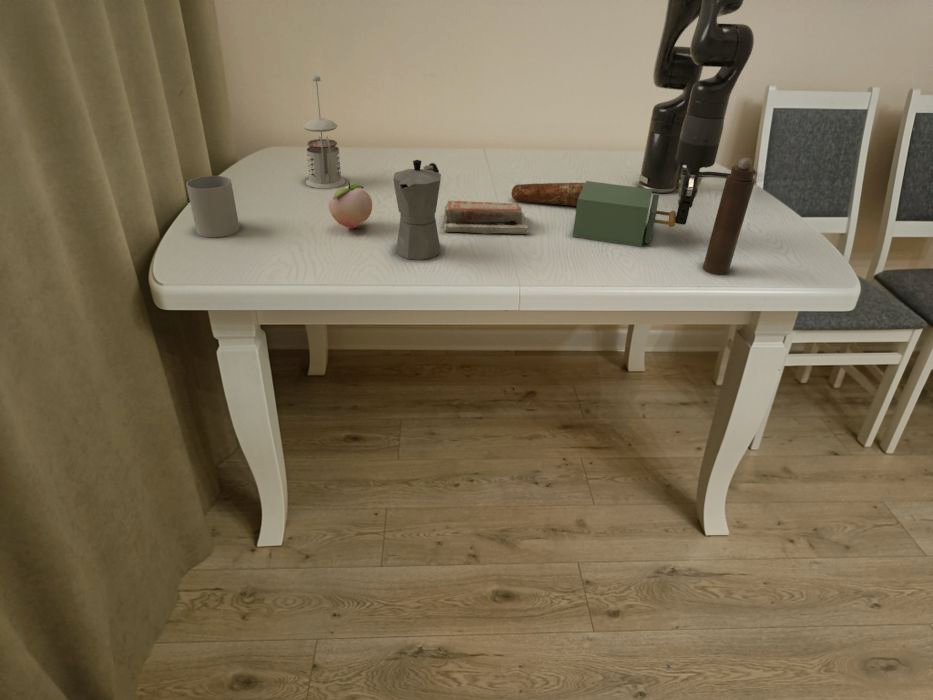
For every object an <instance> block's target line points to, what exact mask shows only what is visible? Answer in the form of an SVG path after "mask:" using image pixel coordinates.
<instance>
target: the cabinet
mask: <svg viewBox="0 0 933 700" xmlns="http://www.w3.org/2000/svg"><path fill="white" fill-rule="evenodd" d="M584 183H585V185H584V187H583V189H582V191H581V193H580V195H579V197H578V201H577V206H576V208H575V215H574V224H573V231H572V237H573V238H580V239H587V240H593V241H600V242H607V243H613V244H621V245H626V246H634V247H640V248H641V247H642V245H643V242H644V241H643V240H644V237H645V232H646V227H647V222H648V217H649V212H650V207H651V201H652V196H653V195H652V193H653V192H652V189H647V188H640V187H639V186H638V187H637V186H630V185H623V184H614V183H606V182H600V181H599V182H598V181H589V180H586V181H585V182H584Z"/></svg>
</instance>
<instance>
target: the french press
mask: <svg viewBox="0 0 933 700" xmlns="http://www.w3.org/2000/svg"><path fill="white" fill-rule="evenodd" d="M311 80H312V82H315V84H316V85H315V86H316V95H317V108H318V118H313V119H311V120H309V121H307V122H305V124H303V126H302V128H303V129H304V130H305V131H308V132H314V133H320V136H318V137H319V138H316V139H315V138H314V139H311V140H309V141H307V142H306V143H307V144H306V145H307V146H308V147H307V148H306V151H305V152H306V156H307V157H306V159H307V166H308V167H307V169H308V178H307V180H306V182H305V184H306V185H307V186H308V187H312V188H314V189H315V188H316V189H332V188H337V187H341V186H343V185H344V184H345V183H346V180H345V178H343V176H342V172H341V166H340V165H341V161H340V148H339V147H338V146H337V144H338V142H337V141H336V140H334V139H330V138H329V136H328V135H326V138H323V133H324V132H325V133H326V132H331V131H334V130H336V129H337V128H338V124H337V123H336V122H335V121H333V120H330V119H328V118H327V119H326V118H321V109H320V99H319V87H318V82H321V81H322V80H321V77H320V76H319V75H316V74H315V75H313V76H312V77H311ZM309 162H310V163H309Z"/></svg>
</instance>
